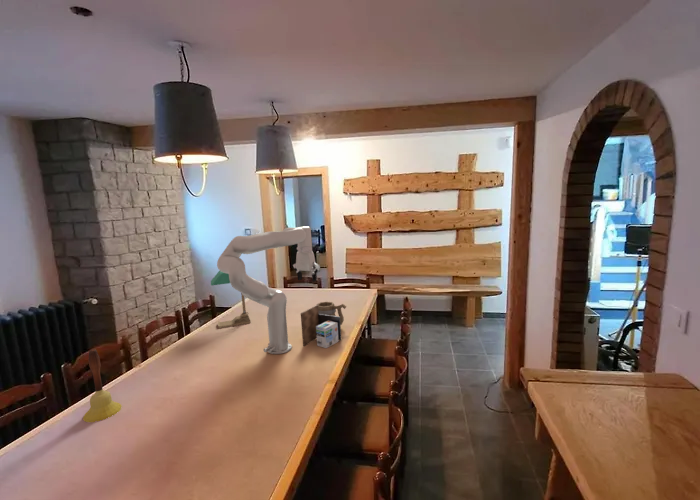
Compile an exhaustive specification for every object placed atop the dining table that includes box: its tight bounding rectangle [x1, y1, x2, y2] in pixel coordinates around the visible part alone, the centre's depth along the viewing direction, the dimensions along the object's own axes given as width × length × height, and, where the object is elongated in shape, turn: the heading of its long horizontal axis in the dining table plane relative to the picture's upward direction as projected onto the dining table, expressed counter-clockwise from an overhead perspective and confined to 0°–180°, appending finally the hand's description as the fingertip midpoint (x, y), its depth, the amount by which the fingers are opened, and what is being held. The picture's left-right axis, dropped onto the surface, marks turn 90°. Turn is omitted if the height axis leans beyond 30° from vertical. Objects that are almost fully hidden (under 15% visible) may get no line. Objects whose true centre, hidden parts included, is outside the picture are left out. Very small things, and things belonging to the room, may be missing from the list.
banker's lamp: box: [210, 270, 252, 329], centre depth 226 cm, size 16×21×35 cm
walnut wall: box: [300, 304, 319, 347], centre depth 194 cm, size 15×1×18 cm, turn 151°
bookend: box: [318, 314, 342, 341], centre depth 196 cm, size 1×14×13 cm, turn 61°
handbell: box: [82, 348, 123, 423], centre depth 135 cm, size 12×12×25 cm
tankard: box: [316, 301, 347, 326], centre depth 213 cm, size 20×13×15 cm, turn 62°
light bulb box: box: [316, 321, 339, 349], centre depth 190 cm, size 11×7×11 cm, turn 144°
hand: (307, 280), depth 196 cm, fingers open, 9 cm apart
